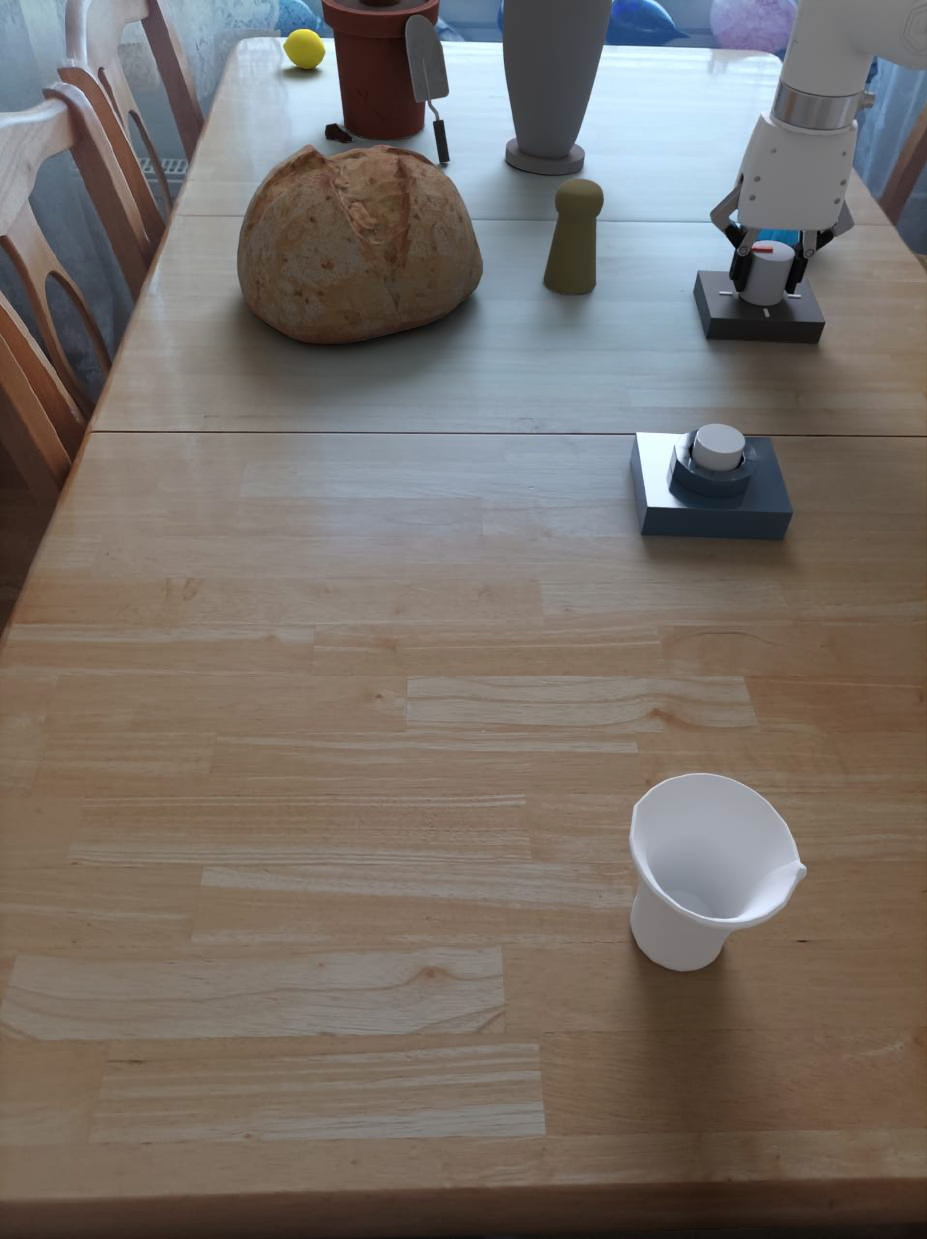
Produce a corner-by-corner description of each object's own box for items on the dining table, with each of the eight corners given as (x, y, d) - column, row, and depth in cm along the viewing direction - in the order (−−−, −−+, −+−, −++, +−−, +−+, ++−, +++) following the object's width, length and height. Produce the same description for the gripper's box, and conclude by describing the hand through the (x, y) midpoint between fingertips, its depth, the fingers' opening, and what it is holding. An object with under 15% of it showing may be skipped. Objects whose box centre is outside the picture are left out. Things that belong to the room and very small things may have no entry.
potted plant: (450, 105, 141) (454, -102, 122) (449, 166, 126) (453, -57, 108) (332, 101, 140) (317, -107, 121) (318, 162, 126) (299, -63, 107)
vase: (588, 144, 132) (628, -178, 106) (595, 184, 124) (640, -155, 98) (495, 141, 132) (511, -182, 106) (495, 181, 124) (513, -160, 97)
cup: (743, 1024, 52) (796, 953, 45) (584, 962, 54) (609, 884, 47) (769, 887, 58) (820, 803, 50) (623, 835, 60) (652, 747, 53)
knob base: (798, 295, 106) (805, 273, 104) (818, 343, 99) (826, 321, 97) (693, 290, 106) (698, 268, 104) (705, 339, 99) (711, 316, 97)
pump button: (735, 443, 80) (741, 424, 78) (743, 473, 77) (749, 454, 76) (688, 441, 80) (693, 422, 78) (694, 471, 77) (700, 452, 76)
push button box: (760, 465, 85) (776, 420, 82) (782, 541, 79) (800, 496, 75) (629, 460, 85) (639, 415, 82) (640, 535, 79) (651, 489, 75)
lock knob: (777, 285, 102) (791, 238, 98) (785, 307, 99) (800, 259, 95) (735, 283, 102) (747, 236, 98) (742, 305, 99) (755, 257, 95)
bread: (445, 232, 114) (447, 98, 102) (512, 332, 99) (523, 190, 88) (226, 260, 107) (203, 122, 96) (264, 372, 93) (241, 224, 82)
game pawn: (533, 274, 107) (542, 177, 99) (577, 263, 109) (590, 167, 101) (560, 299, 104) (571, 200, 96) (606, 287, 106) (621, 190, 98)
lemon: (332, 65, 150) (330, 26, 146) (320, 76, 147) (317, 37, 143) (292, 59, 151) (288, 21, 147) (278, 70, 148) (274, 32, 144)
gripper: (895, 92, 89) (832, 272, 103) (717, 85, 89) (678, 266, 103) (918, 123, 84) (849, 308, 98) (730, 115, 84) (687, 302, 98)
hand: (762, 285), depth 100 cm, fingers closed on lock knob, 4 cm apart
